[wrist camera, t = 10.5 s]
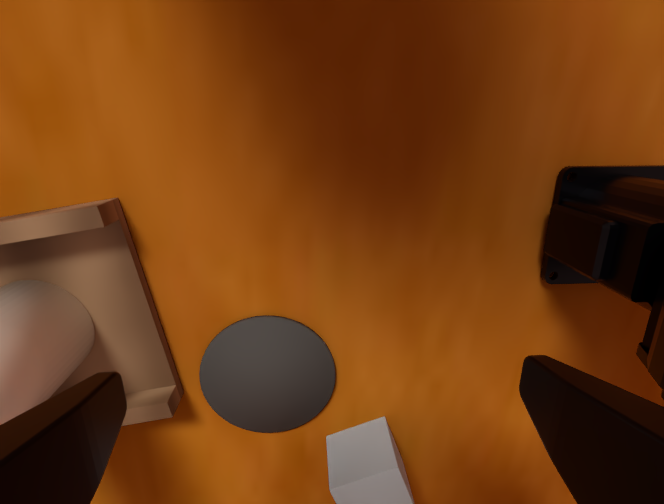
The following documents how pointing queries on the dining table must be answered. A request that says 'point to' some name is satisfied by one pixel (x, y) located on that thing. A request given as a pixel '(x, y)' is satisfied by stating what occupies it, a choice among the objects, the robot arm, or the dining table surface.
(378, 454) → the block
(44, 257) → the bay
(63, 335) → the white rounded tapered post
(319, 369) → the coaster
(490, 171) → the dining table surface
